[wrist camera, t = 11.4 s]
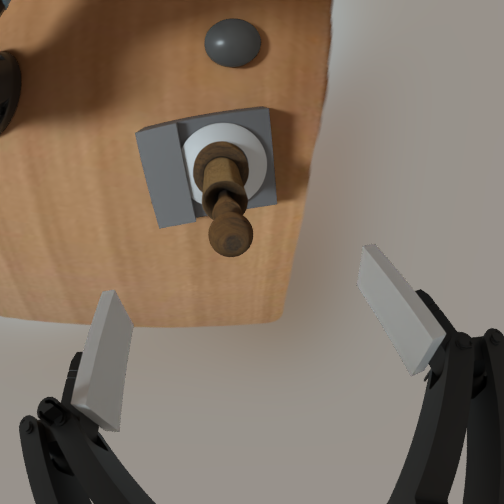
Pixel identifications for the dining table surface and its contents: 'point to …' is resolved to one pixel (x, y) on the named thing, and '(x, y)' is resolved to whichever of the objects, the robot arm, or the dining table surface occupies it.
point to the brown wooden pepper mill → (224, 196)
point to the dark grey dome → (232, 42)
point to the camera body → (186, 150)
